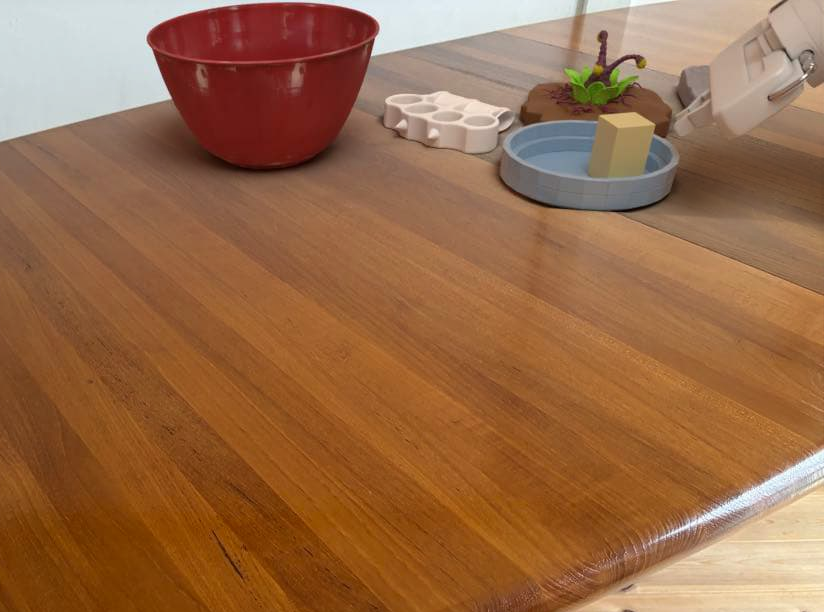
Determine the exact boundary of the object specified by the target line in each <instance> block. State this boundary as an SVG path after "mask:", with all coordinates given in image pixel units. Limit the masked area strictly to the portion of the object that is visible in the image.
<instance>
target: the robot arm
mask: <svg viewBox="0 0 824 612" xmlns="http://www.w3.org/2000/svg"><path fill="white" fill-rule="evenodd" d="M708 66H709V74H710V88H709V89H707V90H706V91H704V92H703V93H702V94H701V95H700V96H699V97H698V98H697V99H695V100H694V101H693V102H692V103H691V104H690V105H689V106H688V108H686V109H685V108H684V109H683V110H682V111H680V112H678V113H677V114H676V115H675V116H674V119H673V123H674V124H673V129H674V131H675V132H676V133H677V134H678V136H679V137H683V138H684V137H687V136H688V135H689V134H690V133H692V132H694V131H695V130H697V129H700V128H702V127H703V128H704V127H705V126H708V125H710V124H714V123H715V124H716V125H717V127H718V129H719V130H720V131H721V133H722V134H723V136H725V138H726V139H727V140H729V141H733V140H737V139H739V138H742V137H744V136H745V135H747V134H748V133H750V132H751V131H753V130H755V129H756V128H757V127H759V126H761V125H762V124H764V123H765V122H766V121H768V120H769V119H771V118H773V117H774V116H775V115H777V114H778V113H779V112H781V111H782V110H784V109H785V108H786V107H788V106H789V105H790V104H792V103H793V102H794V101H795V100H797V99H798V98H799V97H800V96H801V94H803V92H804V89H805V85H804V84H805V83H807V84H808V85H809V86H810V87H811V88H812V89H815V88H817V87H819V86H821V85H822V84H824V0H780V1H778V2H777V3H775V4H773V6H771V7H770V8H769V9H768V11H767V17H765V18H763V19H762V20H760V21H758V22H757V23H756V24H754V25H753V26H752V27H751V28H749V29H748V30H747V31H746V32H744V33H743V34H741V36H739V37H738V38H736V39H735V40H734V41H733V42H731V44H729V45H728V46H727V47H725V48H724V49H723V50H722V51H720V52H719V53H718V54H717V56H715V57H714V58H713V59H712V61H711V62H710V63H709V65H708Z"/></svg>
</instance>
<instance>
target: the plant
mask: <svg viewBox="0 0 824 612" xmlns="http://www.w3.org/2000/svg"><path fill="white" fill-rule="evenodd" d="M608 38H609V33H608V31H607V30H606V29H605V30H600V32H598V34H597V35H596V41H597V42H598V43H599V44H600V46H599V52H598V56H597V61H596V62H595V65H594V66H593V67H592V69H591V68H589V67H588V66H586V65H584V66H583V67H582V69H581V74H580V73H579V72H577V71H576V70H573V69H571V68H568V67H566V68H565V69H564V73H566V74H567V75H568V77H569V79H570V80H569V81H568V82H558V81H556V82H545V83H544V82H543V83H537V84H536V85H534V86H533V87H532V89H530V90H529V92H528V96H527V102H525V103H523V104H521V106H520V114H519V120H521V121H523V127H525V126H528V125H531V124H535V123H542V122H549V121H561V120H585V121H598V119H599V115H608V114H619V113H630V112H636V113H638V114H639V115H641V116H642V117H644V118H646V119H647V120H649V121H650V122H652V123H654V124H655V129H654V133H653V134H655V135H657V136H659V137H661V138H665V137H667V136H668V134H669V130H670V127H671V126H670V125H671V121H672V120H671V119H672V115H673V109H672V107H670V106H669V105H668V104H667V103H665V101H664V100H663V99H662V97H661V96H660V95H659V94H658V93H657V92H655V91H654V90H652V89H649V88H646V87H643V86H642V85H640V83H638V82H636V81H637V80H638V79H639V78H640V75H631V76H628V77H625V78H623V79H621V80H619V81H618V79H619V76H620V73H621V70H620V68H618V66H620V65H621V64H622V63H624V62H625V61H628V60H634V61H635V66H636V68H637V69H639V70H642V69H646V68H645V67H646V66H647V63H648V61H647V59H646V58H645V57H644V56H643V55H640V54H636V53H633V54H625V55H623V56H621V57H620V58H617V59H616V60H615V61H614V62H612V63H611V64H609V65H607V54H608V52H607V50H608V47H607V45H608V41H607V40H608Z"/></svg>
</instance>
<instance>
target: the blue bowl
mask: <svg viewBox="0 0 824 612" xmlns="http://www.w3.org/2000/svg"><path fill="white" fill-rule="evenodd" d="M597 124H598V121H585V120H561V121H549V122H542V123H535V124H531V125H528V126H521V127H519V128H517V129H515V130H513V131H511V132H509V133H508V134H507V136H506V137H505V138H504V140H503V143H502V150H501V157H500V162H499V163H500V165H499V176H500V177H501V179H502V181H503V182H504V183H505V185H507V186H508V187H510V188H511V189H512V190H513V191H515V192H517V193H519V194H521V195H522V196H524V197H526V198H528V199H530V200H533V201H536V202H538V203H541V204H544V205H547V206H552V207H556V208H561V209H567V210H572V211H585V212H587V211H589V212H619V211H626V210H633V209H636V208H640V207H645V206H649V205H651V204H653V203H656V202H658V201H660V200H661V201H662V200H663V198H665V197H666V196H667V195H668V194H670V192H671V190H672V187H673V183H674V180H675V177H676V173H677V170H678V166H679V162H680V158H681V155H680V154H679V151H678V149H677V147H675V145H673V144H672V143H671V142H670V141H668V140H667V139H665V138H664V137H659V136H657V135H655V134H653V137H652V141H651V145H650V149H649V153H648V157H647V161H646V165H645V169H644V173H643V175H640V176H634V177H621V178H592V177H591V176H590V175H588V174H587V172H588V167H589V163H590V158H591V153H592V148H593V143H594V138H595V133H596V128H597Z"/></svg>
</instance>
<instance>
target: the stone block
mask: <svg viewBox="0 0 824 612" xmlns="http://www.w3.org/2000/svg"><path fill="white" fill-rule="evenodd" d="M709 88H710V74H709V65H708V64H702V65H691V66H689V67H687V68H684V69H683V70H682V71H681V73H680V76H679V81H678V84H677V87H676V91H677V95H678V97H679V99H680V101H681V103H682V104H683V107H684V110H685V109H686V108H688V106H689V105H690V104H691V103H692V102H693V101H694V100H695V99H697V98H698V97H699V96H700V95H701V94H702V93H703V92H704V91H706V90H707V89H709Z"/></svg>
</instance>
